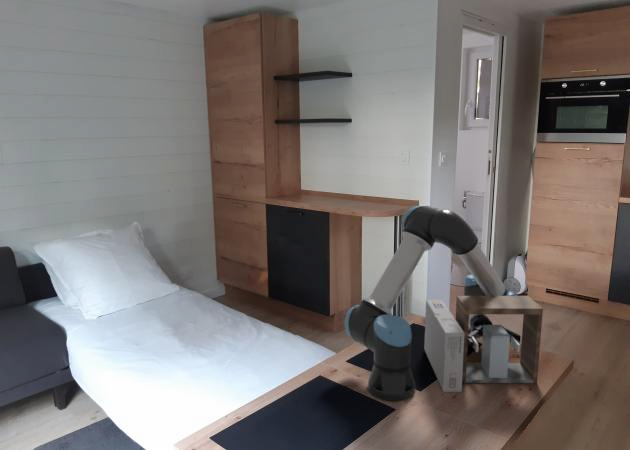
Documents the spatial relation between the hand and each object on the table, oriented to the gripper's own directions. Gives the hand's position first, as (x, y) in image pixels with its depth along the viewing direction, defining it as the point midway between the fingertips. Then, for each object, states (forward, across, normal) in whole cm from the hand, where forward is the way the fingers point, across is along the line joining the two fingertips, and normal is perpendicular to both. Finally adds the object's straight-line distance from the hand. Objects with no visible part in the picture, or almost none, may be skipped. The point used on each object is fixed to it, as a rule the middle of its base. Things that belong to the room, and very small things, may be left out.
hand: (498, 348), depth 164 cm
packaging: (-6, +17, -11) cm, 21 cm away
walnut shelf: (-2, 0, -10) cm, 11 cm away
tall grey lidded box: (-2, 0, -9) cm, 10 cm away
